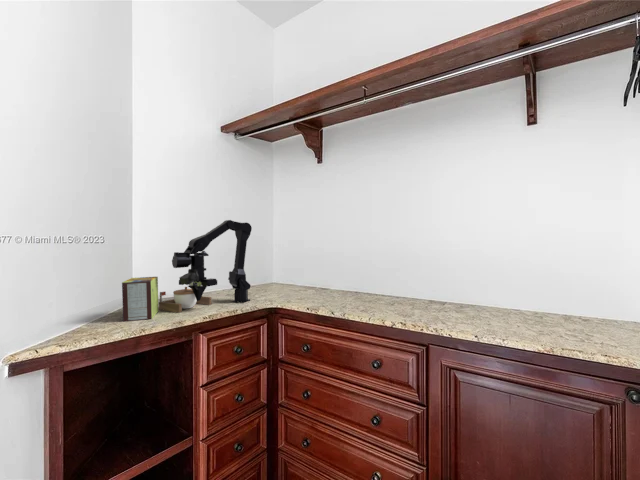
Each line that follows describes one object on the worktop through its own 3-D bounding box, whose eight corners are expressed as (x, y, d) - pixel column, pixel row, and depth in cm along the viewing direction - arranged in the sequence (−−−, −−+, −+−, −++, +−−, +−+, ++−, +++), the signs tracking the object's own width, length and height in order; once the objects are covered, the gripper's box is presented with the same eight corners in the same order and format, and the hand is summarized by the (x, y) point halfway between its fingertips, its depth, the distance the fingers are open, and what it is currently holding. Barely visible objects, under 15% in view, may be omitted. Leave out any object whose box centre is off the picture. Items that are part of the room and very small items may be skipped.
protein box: (158, 311, 144) (158, 276, 144) (152, 319, 129) (151, 280, 129) (132, 313, 141) (131, 277, 141) (122, 321, 126) (121, 282, 126)
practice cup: (191, 302, 163) (191, 286, 163) (211, 304, 157) (211, 287, 157) (158, 309, 147) (158, 292, 146) (179, 312, 141) (178, 294, 140)
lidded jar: (168, 309, 147) (168, 288, 147) (182, 304, 158) (182, 285, 158) (190, 309, 145) (189, 288, 145) (203, 305, 156) (202, 285, 156)
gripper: (168, 267, 145) (169, 302, 145) (198, 268, 137) (199, 305, 137) (188, 265, 155) (189, 298, 155) (217, 266, 146) (218, 300, 147)
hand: (198, 300), depth 148 cm, fingers closed
